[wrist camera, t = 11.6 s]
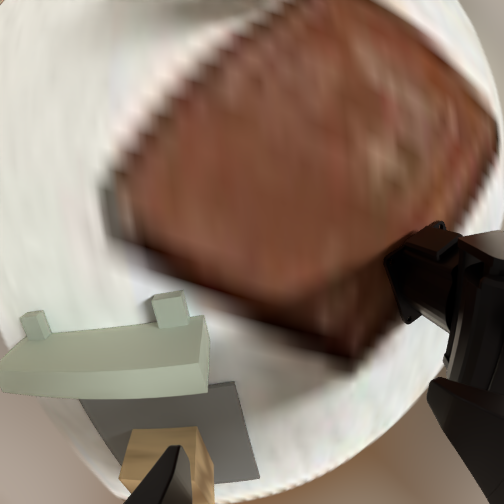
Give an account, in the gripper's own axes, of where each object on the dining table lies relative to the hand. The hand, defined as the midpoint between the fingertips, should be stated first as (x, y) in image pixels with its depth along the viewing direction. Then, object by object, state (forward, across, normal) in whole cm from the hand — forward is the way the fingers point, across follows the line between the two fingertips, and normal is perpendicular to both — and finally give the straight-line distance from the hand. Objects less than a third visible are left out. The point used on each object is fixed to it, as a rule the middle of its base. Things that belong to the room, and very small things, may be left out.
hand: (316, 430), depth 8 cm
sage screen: (+12, +12, +1) cm, 17 cm away
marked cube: (+11, +10, +13) cm, 20 cm away
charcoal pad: (+12, +10, +13) cm, 20 cm away
